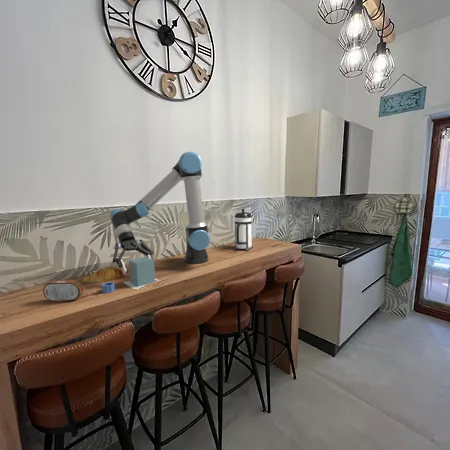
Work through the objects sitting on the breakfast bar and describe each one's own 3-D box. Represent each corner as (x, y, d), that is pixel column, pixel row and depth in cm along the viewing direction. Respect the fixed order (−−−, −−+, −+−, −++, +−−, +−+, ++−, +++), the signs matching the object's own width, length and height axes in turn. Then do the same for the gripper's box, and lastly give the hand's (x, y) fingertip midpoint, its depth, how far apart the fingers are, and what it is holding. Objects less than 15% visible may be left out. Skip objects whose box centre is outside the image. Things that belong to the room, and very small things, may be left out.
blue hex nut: (114, 288, 120) (114, 281, 119) (114, 292, 115) (114, 285, 115) (102, 290, 118) (102, 283, 117) (102, 294, 113) (101, 286, 113)
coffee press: (229, 248, 199) (228, 208, 195) (248, 246, 204) (248, 207, 200) (237, 253, 183) (236, 210, 179) (258, 251, 187) (258, 209, 183)
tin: (84, 298, 110) (82, 278, 109) (80, 301, 107) (78, 281, 106) (47, 299, 110) (45, 280, 108) (42, 302, 106) (40, 282, 105)
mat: (149, 276, 136) (149, 275, 136) (163, 282, 126) (163, 282, 126) (122, 283, 127) (122, 282, 127) (135, 290, 117) (134, 289, 117)
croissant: (85, 292, 125) (84, 280, 121) (80, 278, 132) (80, 266, 128) (129, 281, 138) (131, 270, 134) (124, 269, 144) (124, 258, 140)
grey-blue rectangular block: (147, 278, 133) (145, 256, 131) (155, 282, 126) (153, 259, 125) (130, 282, 127) (128, 260, 125) (138, 286, 121) (136, 263, 119)
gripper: (146, 236, 146) (160, 268, 136) (98, 243, 129) (111, 279, 120) (149, 227, 141) (165, 260, 132) (101, 233, 124) (114, 271, 115)
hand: (139, 269), depth 126 cm, fingers open, 13 cm apart
